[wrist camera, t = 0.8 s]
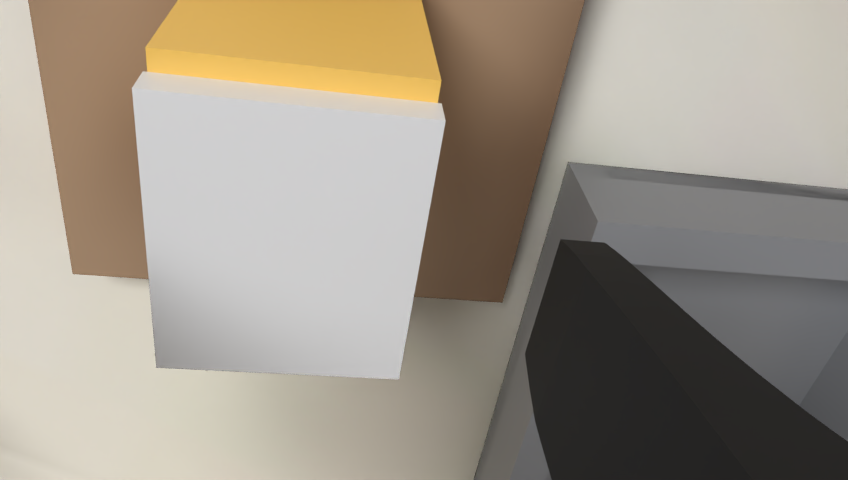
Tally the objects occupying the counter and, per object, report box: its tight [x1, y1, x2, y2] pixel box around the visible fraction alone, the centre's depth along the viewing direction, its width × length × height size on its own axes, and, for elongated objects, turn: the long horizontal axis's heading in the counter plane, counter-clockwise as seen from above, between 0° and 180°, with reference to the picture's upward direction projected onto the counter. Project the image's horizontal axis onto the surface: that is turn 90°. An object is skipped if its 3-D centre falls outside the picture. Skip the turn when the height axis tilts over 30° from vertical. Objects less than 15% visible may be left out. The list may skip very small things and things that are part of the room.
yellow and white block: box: [132, 0, 446, 380], centre depth 12 cm, size 4×5×6 cm
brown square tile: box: [28, 0, 585, 302], centre depth 14 cm, size 10×10×1 cm
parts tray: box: [474, 162, 848, 480], centre depth 21 cm, size 10×16×2 cm, turn 171°
